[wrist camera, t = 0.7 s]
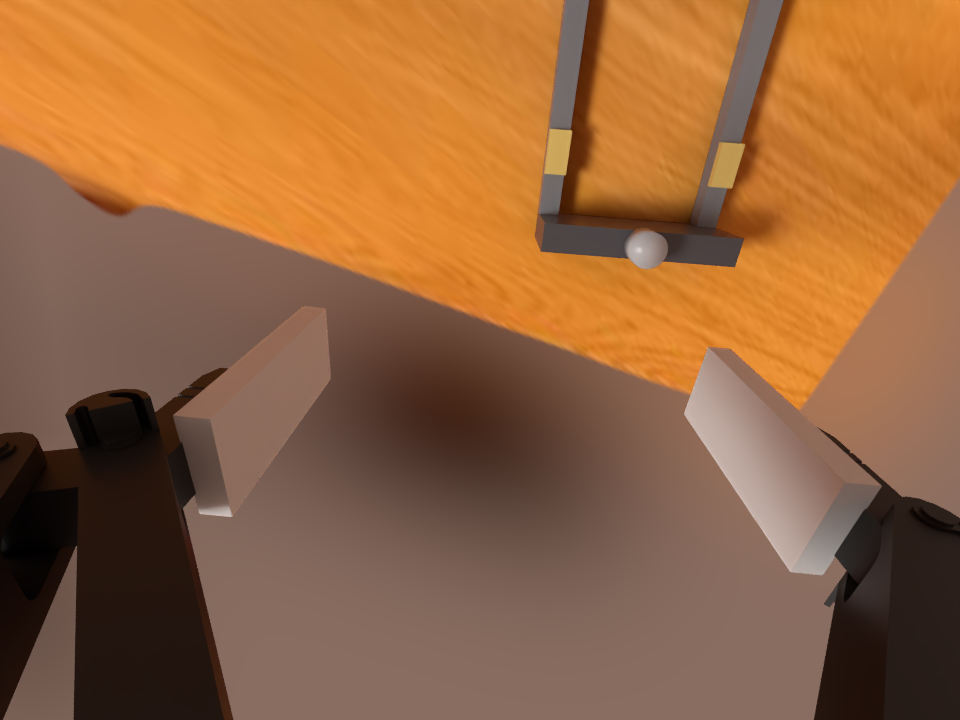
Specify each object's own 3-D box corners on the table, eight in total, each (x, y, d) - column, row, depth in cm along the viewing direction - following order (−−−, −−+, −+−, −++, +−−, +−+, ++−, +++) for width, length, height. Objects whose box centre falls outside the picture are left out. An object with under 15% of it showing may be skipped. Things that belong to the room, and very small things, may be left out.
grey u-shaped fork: (581, -145, 27) (610, -252, 20) (810, -128, 27) (924, -230, 20) (534, 238, 37) (542, 260, 30) (700, 252, 37) (748, 277, 30)
